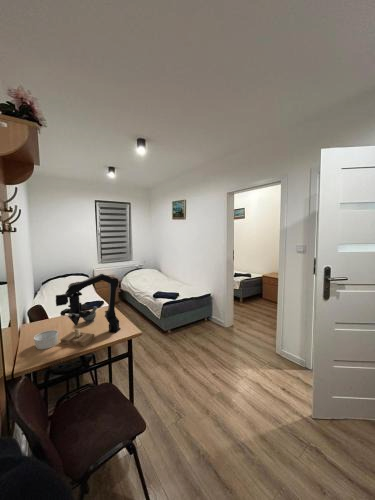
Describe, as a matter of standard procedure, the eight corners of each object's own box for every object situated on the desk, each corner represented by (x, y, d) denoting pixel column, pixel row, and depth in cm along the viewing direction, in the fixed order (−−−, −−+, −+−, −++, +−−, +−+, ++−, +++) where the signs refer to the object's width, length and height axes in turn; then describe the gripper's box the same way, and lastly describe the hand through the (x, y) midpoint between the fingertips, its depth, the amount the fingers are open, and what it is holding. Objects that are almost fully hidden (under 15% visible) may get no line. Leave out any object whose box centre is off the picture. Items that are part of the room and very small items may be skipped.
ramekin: (55, 337, 144) (54, 327, 143) (62, 343, 136) (61, 333, 135) (32, 346, 134) (30, 335, 133) (38, 353, 125) (37, 342, 125)
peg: (81, 339, 140) (80, 328, 139) (78, 342, 137) (77, 330, 136) (77, 339, 141) (76, 328, 140) (74, 341, 138) (73, 330, 137)
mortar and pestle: (82, 325, 160) (81, 310, 158) (82, 320, 168) (81, 306, 166) (98, 322, 164) (97, 307, 163) (97, 317, 173) (96, 304, 171)
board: (94, 338, 141) (94, 334, 141) (84, 346, 132) (84, 342, 131) (72, 335, 146) (72, 331, 145) (60, 343, 136) (60, 339, 135)
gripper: (95, 299, 141) (96, 321, 143) (71, 297, 145) (73, 318, 147) (83, 305, 130) (85, 328, 132) (58, 303, 134) (60, 326, 136)
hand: (76, 325), depth 137 cm, fingers closed
